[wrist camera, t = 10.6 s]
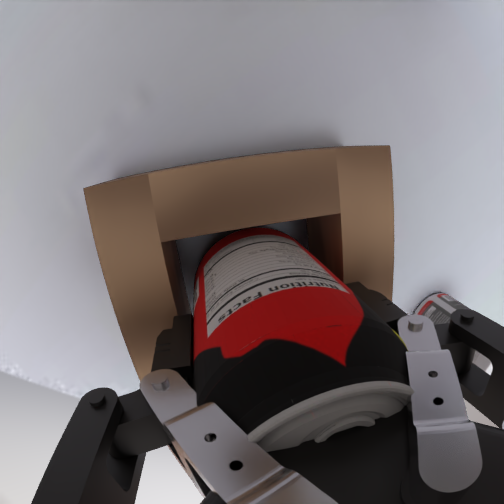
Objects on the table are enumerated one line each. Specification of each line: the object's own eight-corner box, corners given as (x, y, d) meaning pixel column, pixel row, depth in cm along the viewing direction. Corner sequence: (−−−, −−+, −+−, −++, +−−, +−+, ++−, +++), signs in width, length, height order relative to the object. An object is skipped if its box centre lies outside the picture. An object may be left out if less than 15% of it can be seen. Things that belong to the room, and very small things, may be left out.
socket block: (114, 179, 16) (83, 188, 11) (343, 146, 17) (389, 145, 13) (166, 375, 20) (161, 428, 15) (350, 338, 21) (383, 380, 17)
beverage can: (191, 328, 18) (197, 527, 6) (198, 217, 16) (199, 368, 5) (298, 331, 19) (390, 497, 7) (317, 228, 17) (483, 345, 6)
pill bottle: (410, 353, 23) (469, 414, 15) (404, 308, 22) (476, 369, 14) (452, 326, 23) (514, 375, 15) (449, 281, 22) (524, 327, 14)
